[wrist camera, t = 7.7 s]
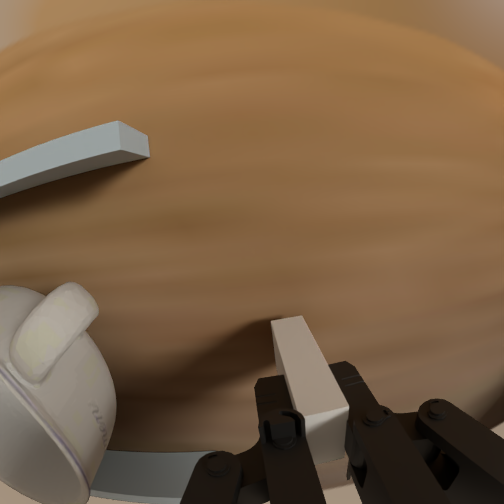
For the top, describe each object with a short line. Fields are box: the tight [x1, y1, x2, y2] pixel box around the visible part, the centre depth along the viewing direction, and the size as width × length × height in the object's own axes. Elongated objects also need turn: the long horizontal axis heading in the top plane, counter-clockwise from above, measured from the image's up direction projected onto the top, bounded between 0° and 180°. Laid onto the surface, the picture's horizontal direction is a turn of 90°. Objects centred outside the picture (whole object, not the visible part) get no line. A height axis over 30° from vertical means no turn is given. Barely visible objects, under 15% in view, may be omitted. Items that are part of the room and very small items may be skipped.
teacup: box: [0, 282, 117, 504], centre depth 10 cm, size 14×11×8 cm
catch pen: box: [0, 121, 214, 504], centre depth 12 cm, size 15×21×5 cm
